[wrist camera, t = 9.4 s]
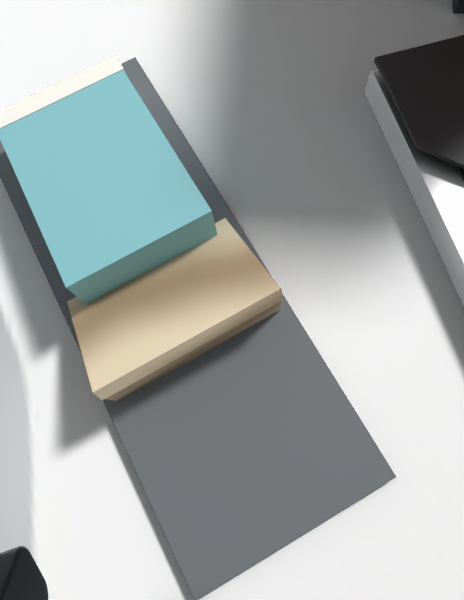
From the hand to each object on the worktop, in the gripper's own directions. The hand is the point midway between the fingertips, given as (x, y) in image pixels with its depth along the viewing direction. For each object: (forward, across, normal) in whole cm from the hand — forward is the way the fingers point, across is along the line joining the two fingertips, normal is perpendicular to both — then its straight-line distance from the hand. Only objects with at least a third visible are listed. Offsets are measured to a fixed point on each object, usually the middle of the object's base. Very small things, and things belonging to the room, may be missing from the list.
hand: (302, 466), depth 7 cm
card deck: (+13, +2, -1) cm, 13 cm away
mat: (+14, +1, +1) cm, 14 cm away
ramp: (+13, +1, +2) cm, 13 cm away
